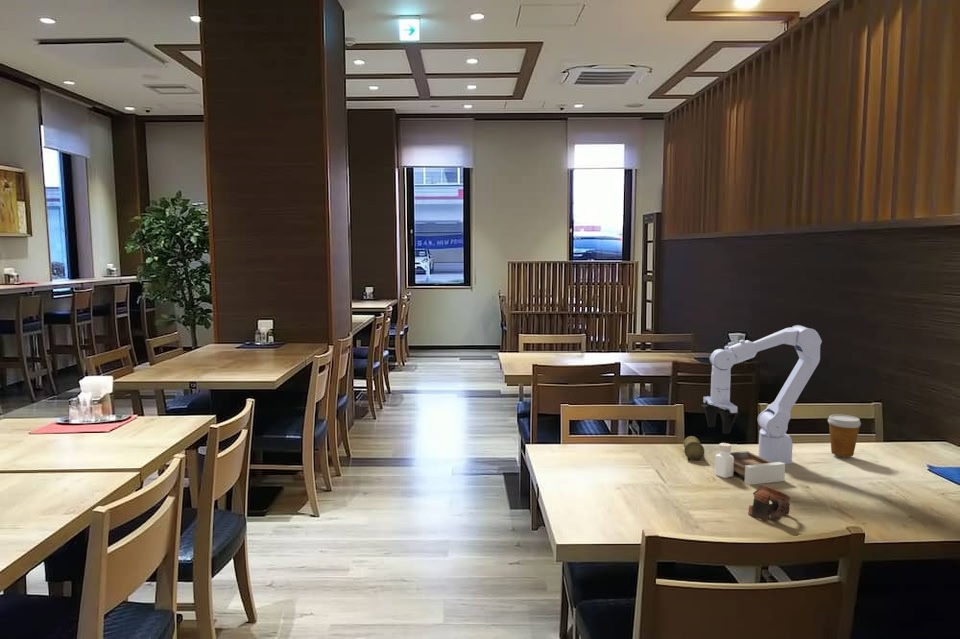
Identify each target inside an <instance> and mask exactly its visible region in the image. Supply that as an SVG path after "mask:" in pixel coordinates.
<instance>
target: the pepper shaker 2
mask: <svg viewBox="0 0 960 639" xmlns="http://www.w3.org/2000/svg"><path fill="white" fill-rule="evenodd" d="M731 450H732V445H731V444H730V443H728V442H727V443H726V442H721V443H719V445H718V451H719V453H717V454H716V455H715V457H714V458H715V459H714V475H715V476H717V477H720V478H723V479H727V478H731V477H733V476H734V471H733V470H734V457H733V456H732V455H730V453H732V452H731Z"/></svg>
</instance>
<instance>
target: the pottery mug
mask: <svg viewBox="0 0 960 639" xmlns="http://www.w3.org/2000/svg"><path fill="white" fill-rule="evenodd" d="M752 495H753V502H752V505H749V506H748V515H749V516H753V517H755V518H757V519H760V520H761V521H764V522H769V518H770V517H771V519H772V520H774V521H777V520H780V519H781V518H782V516H784V515H789V513H790V509H791V508H790V505H791V504H790V499H791V497H790V496H789V495H787V494H786V493H784V492H782V491H780V490H777V489H775V488H772V487H769V486H766V485H761V484H760V485H759V489H757V490H755V491H754V492H753V493H752ZM770 502H771V503H770Z"/></svg>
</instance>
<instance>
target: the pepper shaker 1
mask: <svg viewBox="0 0 960 639" xmlns="http://www.w3.org/2000/svg"><path fill="white" fill-rule="evenodd" d="M683 447H684V456H685V457H686V458H688V460H690V461H699V460H701V459H703V457H704V455H705V448H704V446H703V444H702V443H701V442H700V440H699V439H698V438H697V437H696V436H692V435H690V436H687V437H686V438H685V439H684V441H683Z"/></svg>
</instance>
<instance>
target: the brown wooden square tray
mask: <svg viewBox="0 0 960 639" xmlns="http://www.w3.org/2000/svg"><path fill="white" fill-rule="evenodd" d="M730 455H732V456H733V457H734V470H733V472H735V473H737V474H738V475H739V477H740V478H742V479H745V466H746V465H755V464H764V463H772V462H770V461H768V460H766V459H763V458H761V457H759V456H758V455H757V454H754V453H753V452H750V451H748V450H744V451H736V452H730Z"/></svg>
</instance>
